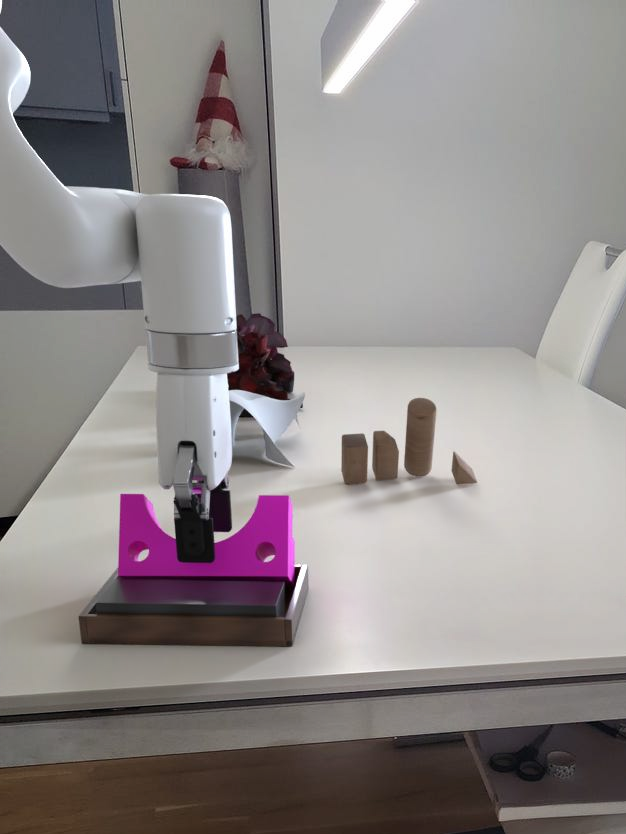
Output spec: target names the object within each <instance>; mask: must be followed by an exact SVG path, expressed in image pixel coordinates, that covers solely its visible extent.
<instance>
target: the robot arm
mask: <svg viewBox="0 0 626 834" xmlns="http://www.w3.org/2000/svg"><path fill="white" fill-rule="evenodd" d="M2 1H3V0H0V13H1V12H2V4H3V2H2ZM30 86H31V70H30V66H29V64H28V61H27V59H26V57H25V56H24V54H23V53H22V51H21V50H20V48H18V46H17V45H16V44H15V43H14V42H13V41H12V40H11V38H10V37H9V36H8V35H7V33H6V32H5V31H4V29H3V28H2V27H1V26H0V246H1V247H2V249H3V250H4V251H5V252H6V253H7V254H8V255H9V256H10V257H11V258H12V259H13V260H14V262H16V263H17V265H18V266H20V267H21V268H22V269H23V270H24V271H25V272H27V273H28V274H29V275H31V276H32V277H33V278H35V279H37V280H39V281H41V282H42V283H44V284H47V285H50V286H52V287H56V288H60V289H61V288H62V289H72V288H73V289H74V288H83V287H84V288H85V287H93V286H102V285H108V286H109V285H117V284H126V283H134V282H140V284H141V285H140V287H141V296H142V308H143V309H142V310H143V320H144V322H143V323H144V328H145V330H144V331H145V344H146V353H147V354H146V356H147V366H148V370H149V371H151V372H153V373H157V374H156V387H155V390H156V391H155V421H156V422H155V427H156V449H157V471H158V473H157V475H158V484H159V486H160V487H161V488H162V489H163V490H170V489H171V488H172V487H173V490H174V497H173V523H174V535H175V537H174V538H175V539H176V549H177V559H178V561H179V562H182V563H212V562H213V561H214V560H215V544H214V543H215V533H230V532H231V531H232V530H233V514H232V498H231V497H232V495H231V490H230V489H229V488H230V478H229V474H228V473H229V471H230V469H231V467H232V462H233V446H232V433H231V416H230V402H229V391H228V388H229V385H228V380H227V373H231V372H235V371H237V370H238V369H239V363H238V344H237V330H236V329H237V325H236V316H237V308H236V305H237V304H236V289H235V288H236V287H235V286H236V285H235V270H234V267H235V265H234V250H233V230H232V220H231V213H230V210H229V208H228V205H226V203H225V202H224V201H223V200H222V199H219V198H218V197H214V196H210V195H197V194H180V193H153V194H146V193H141V192H138V191H131V190H127V189H121V188H107V187H105V188H104V187H97V186H95V187H94V186H71V185H70V186H69V185H67V186H66V185H64V184H63V183H62V182H61V181H60V180H59V179H58V178H57V177H56V175H55V174H54V173H53V172H52V171H51V169H50V168H49V166H47V165H46V164H45V162H44V161H43V160H42V159H41V158H40V156H39V155H38V154H37V152H36V150H34V149H33V147H32V146H31V145H30V144H29V142H28V141H27V139H26V137H25V136H24V135H23V133H22V131H21V130H20V127H18V125H17V122H16V120H15V117H14V115H13V114H14V113H15V112H16V110H18V108H19V107H20V105H21V104H22V103H23V101H24V100H25V98H26V95H27V94H28V91H29V88H30ZM193 481H196V482H193Z"/></svg>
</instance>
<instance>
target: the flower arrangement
mask: <svg viewBox="0 0 626 834" xmlns="http://www.w3.org/2000/svg"><path fill="white" fill-rule="evenodd" d="M236 325H237V329H236V330H237V344H238V363H239V369H238V370H237V371H235V372H231V373H227V380H228V385H229V388H228V391H229V390H242V391H247V392H251V393H254V394H258V395H262V396H266V397H269V398H272V399H276V400H291V399H292V398H289V396H288V393H293V392H294V387H295V371H294V370H293V369H292V365H291V364H292V362H291V361H290V360H289V359H287V358H286V357H285V354H283V353H282V352H281V353H280V352H279V351H278V349H283V348H284V349H285V348H289V346H288V343H287V339H286V338H285V337H284V335H282V333H281V332H278V331H276V324H275V322H274V321H273V320H272V319H271V318H269V317H267V316H264V315H262V314H261V313H260V312H258V313H251V314H250V316H249V317H248V318H247V319H246V317H245V316H244V315H243V314H242V313H241V314H236ZM303 408H304V402H303V403H302V405H301V407H300V409H303ZM240 416H248V417H247V418H253V417H252V415H251V414H250V413H249V412H248V411H247V410H246V409H245V408H244V409H243V411H242V412H241V414H240ZM249 416H250V417H249Z"/></svg>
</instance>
